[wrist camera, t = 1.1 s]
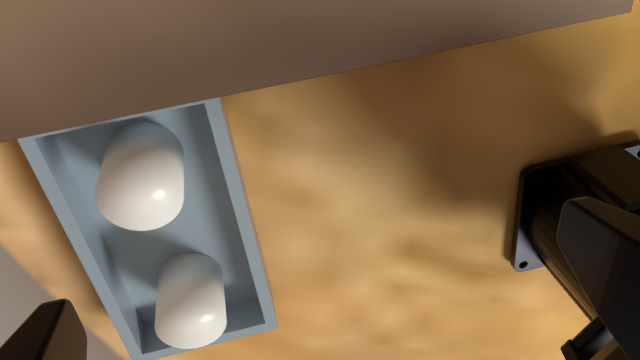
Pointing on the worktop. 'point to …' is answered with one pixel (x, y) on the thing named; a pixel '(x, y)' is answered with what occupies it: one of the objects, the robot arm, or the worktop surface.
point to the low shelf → (226, 47)
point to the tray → (148, 248)
